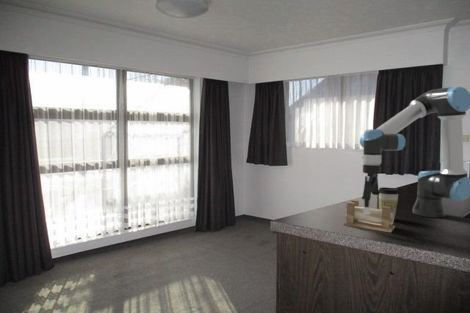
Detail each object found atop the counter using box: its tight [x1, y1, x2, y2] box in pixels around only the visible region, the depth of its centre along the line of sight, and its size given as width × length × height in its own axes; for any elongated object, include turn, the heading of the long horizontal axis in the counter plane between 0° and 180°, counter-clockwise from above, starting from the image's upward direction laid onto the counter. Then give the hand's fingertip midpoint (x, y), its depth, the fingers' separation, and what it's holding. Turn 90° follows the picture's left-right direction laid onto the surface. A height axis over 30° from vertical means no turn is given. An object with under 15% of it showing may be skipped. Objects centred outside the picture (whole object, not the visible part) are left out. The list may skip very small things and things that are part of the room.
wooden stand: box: [343, 199, 395, 233], centre depth 164 cm, size 9×20×10 cm, turn 57°
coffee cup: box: [378, 186, 400, 218], centre depth 179 cm, size 10×10×15 cm
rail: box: [344, 205, 395, 225], centre depth 164 cm, size 4×20×5 cm, turn 58°
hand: (370, 211), depth 164 cm, fingers open, 13 cm apart
